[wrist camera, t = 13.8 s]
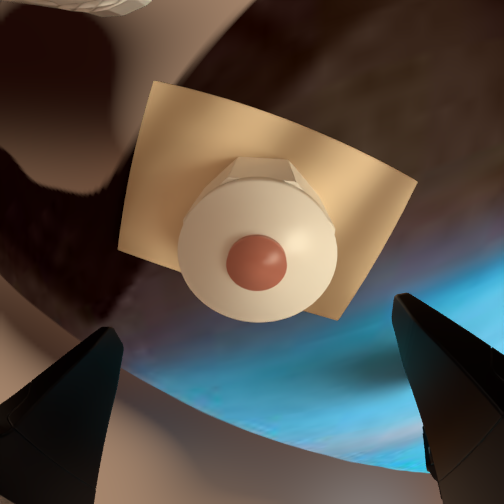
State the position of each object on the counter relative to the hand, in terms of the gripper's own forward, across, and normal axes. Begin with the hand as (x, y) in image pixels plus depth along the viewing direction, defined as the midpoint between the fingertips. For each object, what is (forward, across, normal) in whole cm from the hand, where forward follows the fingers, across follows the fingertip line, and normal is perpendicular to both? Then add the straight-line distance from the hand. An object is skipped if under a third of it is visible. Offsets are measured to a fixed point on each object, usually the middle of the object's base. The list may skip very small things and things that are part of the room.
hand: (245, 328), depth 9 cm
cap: (+10, 0, 0) cm, 10 cm away
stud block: (+10, 0, 0) cm, 11 cm away
